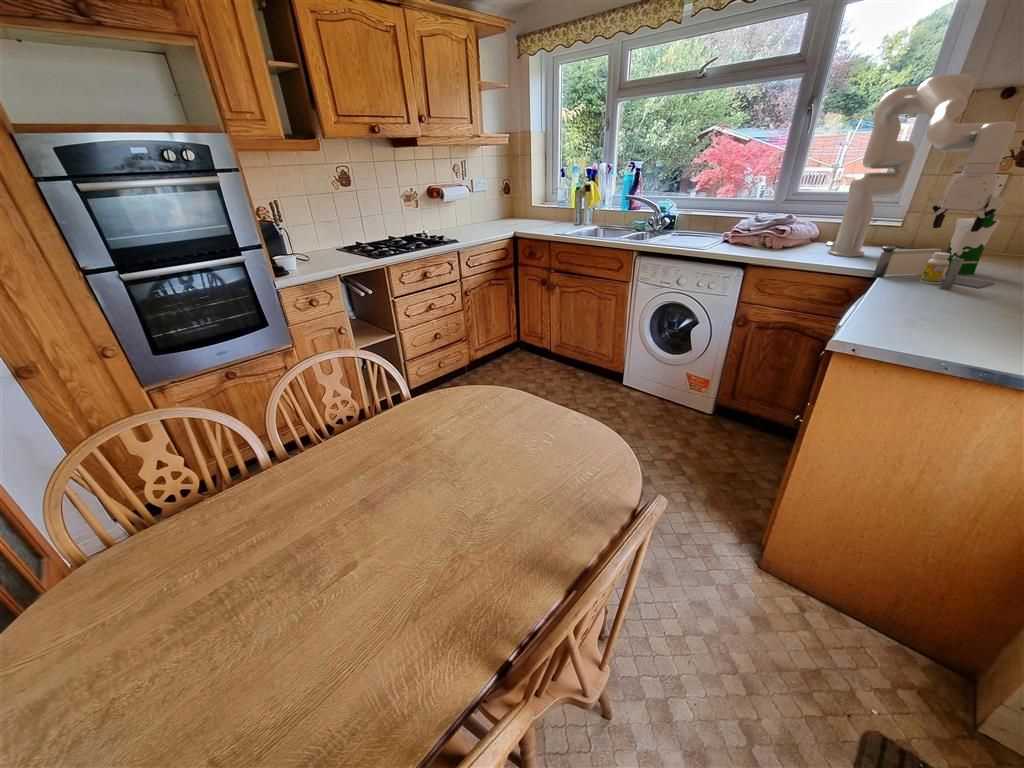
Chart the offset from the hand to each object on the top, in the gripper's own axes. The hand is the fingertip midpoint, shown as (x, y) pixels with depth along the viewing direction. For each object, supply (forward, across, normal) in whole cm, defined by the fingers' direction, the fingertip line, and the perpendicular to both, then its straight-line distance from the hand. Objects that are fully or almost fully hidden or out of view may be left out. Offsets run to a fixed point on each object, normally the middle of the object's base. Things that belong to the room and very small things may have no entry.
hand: (954, 229), depth 137 cm
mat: (+17, +6, +8) cm, 20 cm away
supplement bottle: (+17, 0, -1) cm, 17 cm away
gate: (+16, -9, +3) cm, 19 cm away
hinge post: (+17, -14, -6) cm, 22 cm away
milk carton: (+17, -4, +21) cm, 28 cm away
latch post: (+17, +6, -6) cm, 19 cm away
